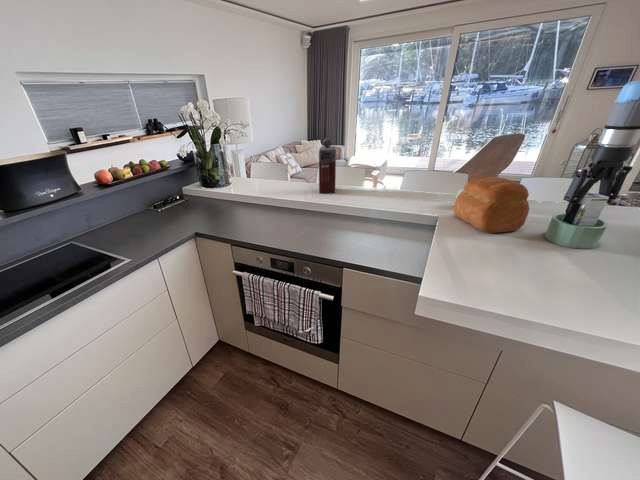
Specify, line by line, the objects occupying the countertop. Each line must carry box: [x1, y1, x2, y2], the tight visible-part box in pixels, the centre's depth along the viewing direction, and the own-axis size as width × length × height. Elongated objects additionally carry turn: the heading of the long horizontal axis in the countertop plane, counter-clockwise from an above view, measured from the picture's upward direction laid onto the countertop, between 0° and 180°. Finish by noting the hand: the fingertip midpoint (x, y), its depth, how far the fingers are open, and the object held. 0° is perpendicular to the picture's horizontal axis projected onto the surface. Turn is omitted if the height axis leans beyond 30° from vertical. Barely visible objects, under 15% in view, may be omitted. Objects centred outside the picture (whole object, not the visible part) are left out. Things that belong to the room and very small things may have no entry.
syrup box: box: [562, 191, 609, 227], centre depth 91 cm, size 6×6×14 cm
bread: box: [453, 175, 530, 234], centre depth 107 cm, size 18×21×17 cm
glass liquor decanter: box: [318, 138, 337, 195], centre depth 156 cm, size 9×11×28 cm
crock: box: [544, 212, 609, 250], centre depth 93 cm, size 13×13×7 cm
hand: (578, 221), depth 92 cm, fingers closed on syrup box, 6 cm apart
